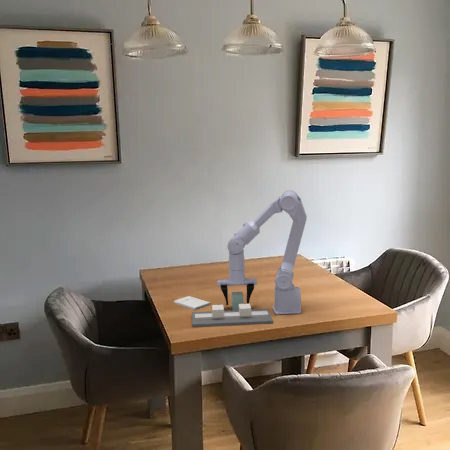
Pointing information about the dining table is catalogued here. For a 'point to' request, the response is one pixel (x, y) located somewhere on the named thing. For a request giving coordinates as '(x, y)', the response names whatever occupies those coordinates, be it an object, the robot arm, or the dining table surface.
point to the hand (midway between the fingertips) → (237, 303)
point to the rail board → (231, 316)
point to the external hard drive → (192, 303)
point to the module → (236, 300)
